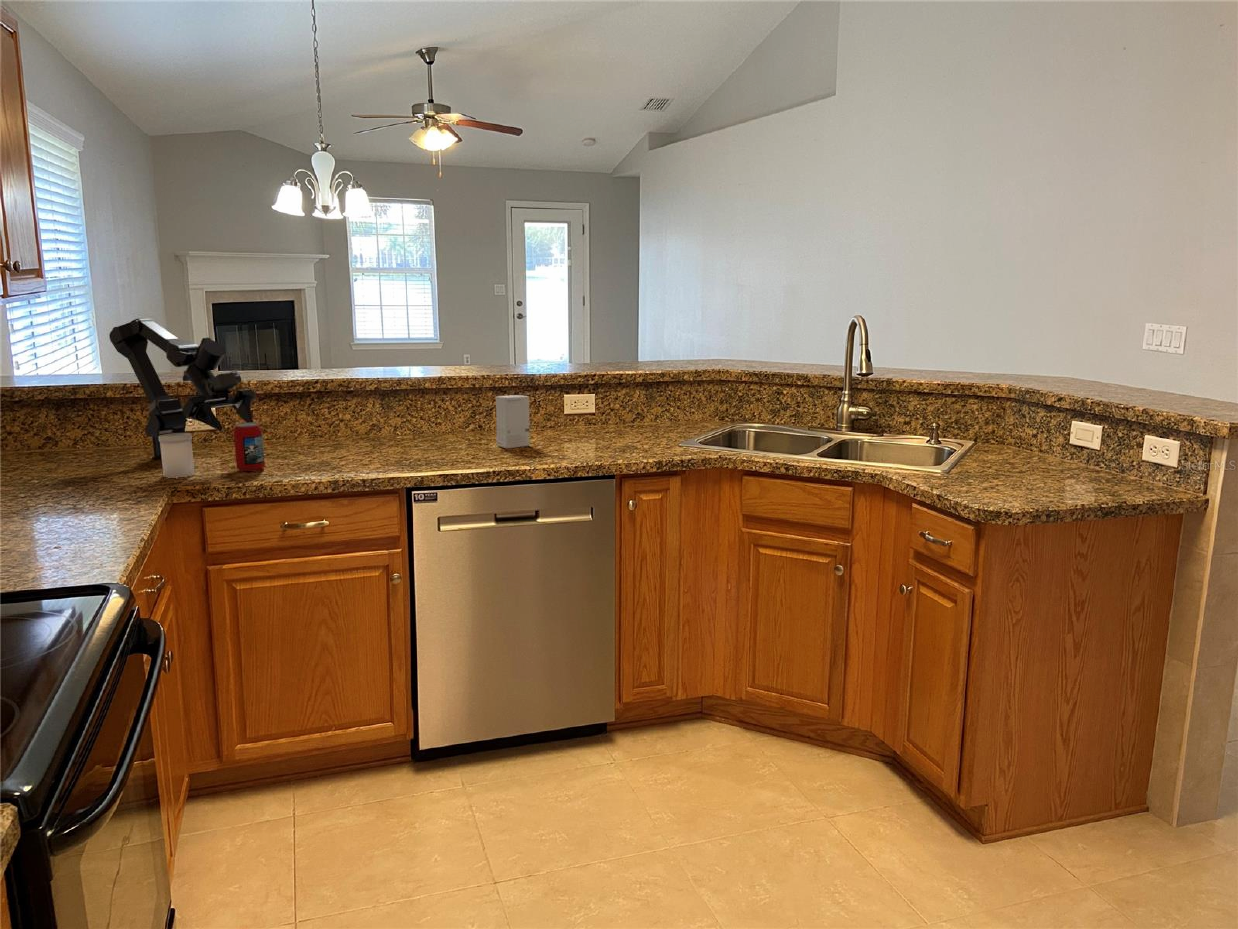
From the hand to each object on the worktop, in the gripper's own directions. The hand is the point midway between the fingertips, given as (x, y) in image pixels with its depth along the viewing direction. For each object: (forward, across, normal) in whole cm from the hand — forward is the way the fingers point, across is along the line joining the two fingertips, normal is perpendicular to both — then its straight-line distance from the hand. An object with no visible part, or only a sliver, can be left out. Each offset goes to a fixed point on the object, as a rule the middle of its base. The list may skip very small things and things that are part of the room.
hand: (237, 427), depth 231 cm
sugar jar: (+3, -13, +12) cm, 18 cm away
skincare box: (+39, +60, -23) cm, 75 cm away
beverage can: (+11, 0, +5) cm, 12 cm away
